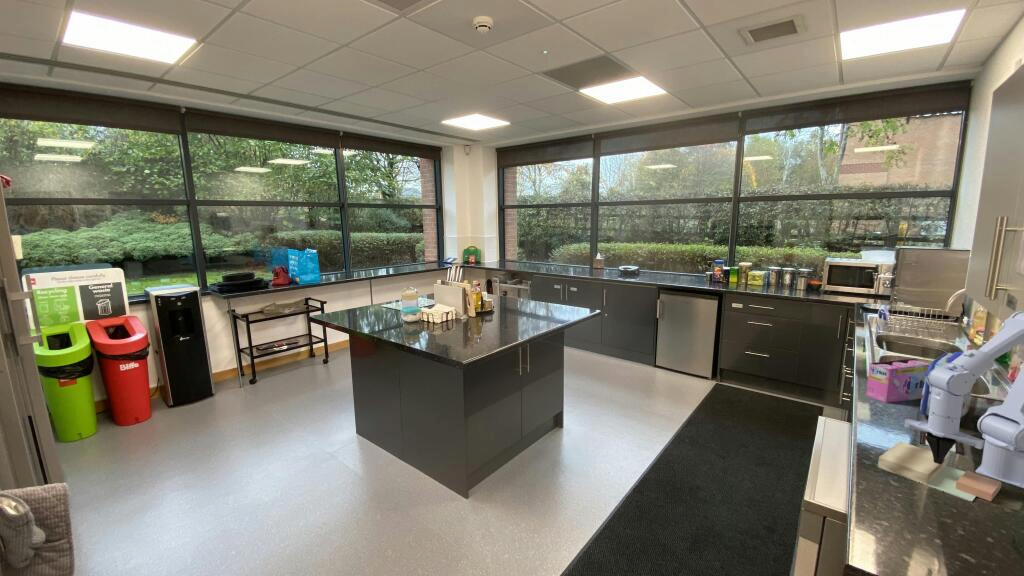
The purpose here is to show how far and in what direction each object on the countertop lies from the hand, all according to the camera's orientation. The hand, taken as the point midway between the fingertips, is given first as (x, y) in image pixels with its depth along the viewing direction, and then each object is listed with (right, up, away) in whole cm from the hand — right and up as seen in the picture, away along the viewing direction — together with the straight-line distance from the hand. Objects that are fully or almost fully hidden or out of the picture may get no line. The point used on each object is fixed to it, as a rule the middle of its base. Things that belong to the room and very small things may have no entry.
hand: (938, 462), depth 111 cm
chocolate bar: (+21, -2, +20) cm, 29 cm away
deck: (-3, -3, +5) cm, 6 cm away
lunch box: (+40, +1, +37) cm, 55 cm away
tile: (+4, -2, -6) cm, 8 cm away
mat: (+2, -4, -3) cm, 6 cm away
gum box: (+39, +3, +53) cm, 66 cm away
